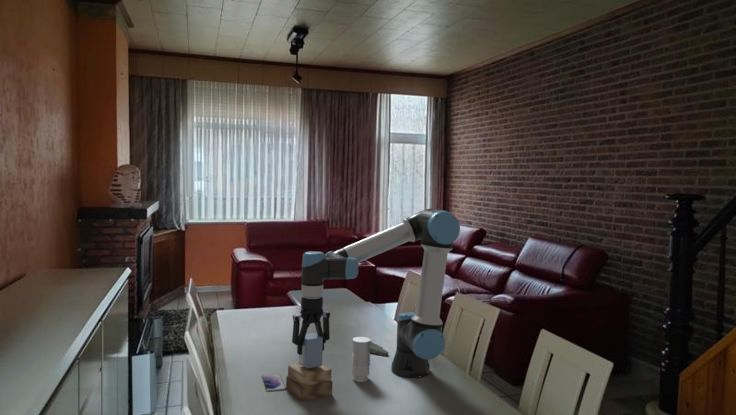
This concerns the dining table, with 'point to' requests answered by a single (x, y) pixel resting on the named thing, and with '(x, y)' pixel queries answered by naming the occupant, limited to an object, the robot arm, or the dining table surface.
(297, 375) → the tower top
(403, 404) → the dining table surface
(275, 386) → the smartphone
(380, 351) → the stone
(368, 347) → the candle
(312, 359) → the blue block
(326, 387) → the block
